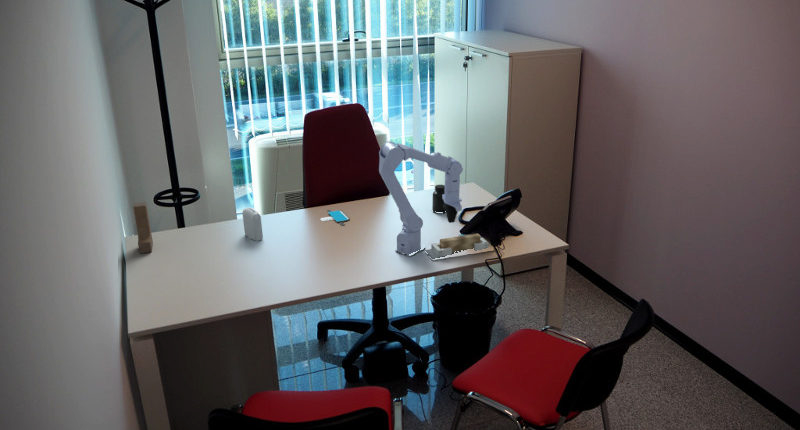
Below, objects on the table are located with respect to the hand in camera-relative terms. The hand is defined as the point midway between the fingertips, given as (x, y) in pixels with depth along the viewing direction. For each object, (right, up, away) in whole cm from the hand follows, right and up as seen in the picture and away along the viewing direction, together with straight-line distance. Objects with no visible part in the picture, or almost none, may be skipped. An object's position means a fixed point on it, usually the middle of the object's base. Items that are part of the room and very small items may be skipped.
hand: (451, 221), depth 251 cm
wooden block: (-121, -11, +2) cm, 121 cm away
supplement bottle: (-2, +4, +36) cm, 37 cm away
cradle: (+3, -12, -3) cm, 12 cm away
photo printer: (-80, -7, +12) cm, 82 cm away
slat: (+3, -11, -4) cm, 12 cm away
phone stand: (-49, +1, +30) cm, 58 cm away
